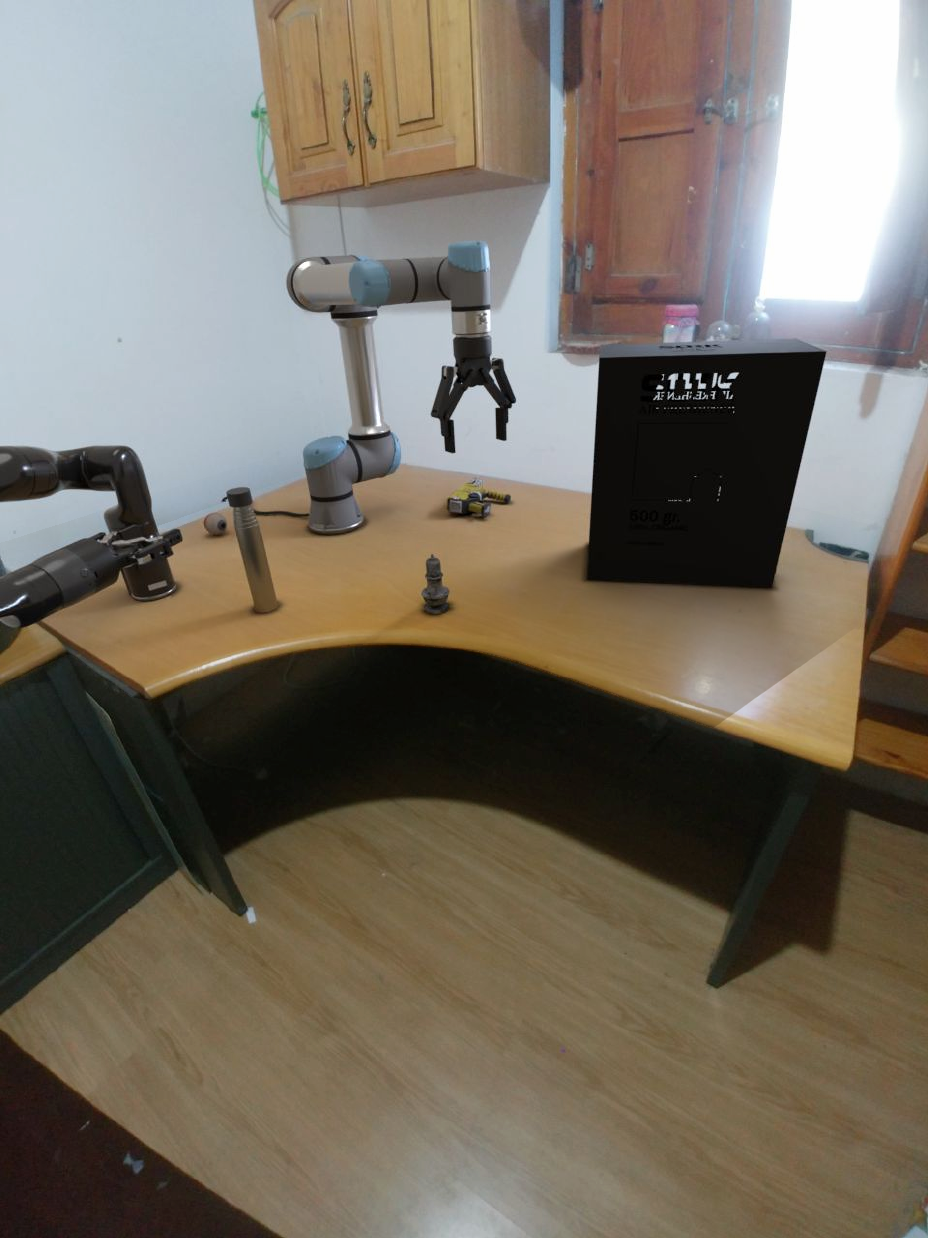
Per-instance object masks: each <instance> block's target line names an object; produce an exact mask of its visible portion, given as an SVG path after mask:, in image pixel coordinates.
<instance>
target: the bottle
mask: <svg viewBox="0 0 928 1238" xmlns="http://www.w3.org/2000/svg"><path fill="white" fill-rule="evenodd" d="M232 508H233V509H232V515H233V517H232V519H233V528H234V532H235V537H236V540H237V544H238V548H239V551H240V556H241V560H242V563H243V566H244V567H243V568H244V571H245V575H246V579H247V583H248V586H249V590H250V594H251V599H252V602H253V606H254V609H255V611H256V612H257V613H261V614H264V613H266V614H267V613H270V612H273V611H274V610H276V609H278V607H279V604H278V600H277V599H278V598H277V595H276V591H275V586H274V582H273V578H272V574H271V570H270V565H269V561H268V556H267V553H266V548H265V543H264V539H263V536H262V531H261V527H260V526H261V525H260V522H259V520H258V517H257V514H256V513H254V510H255V509H253V506H252V505H251V504H250V505H248V506H245V507H238V508H234V507H232Z"/></svg>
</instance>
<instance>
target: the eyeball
mask: <svg viewBox="0 0 928 1238" xmlns="http://www.w3.org/2000/svg"><path fill="white" fill-rule="evenodd" d="M203 526H204V529H205V530H206V531H207V532H208V533H209V534H211V535H215V536H217V535H221V534H223V533H225V532H226V530H227V528H228V522H227V518H226V517H225V516H224V515H223V514H222V513H219V512H211V513H208V514H207V515H206V516H205V517H204V519H203Z"/></svg>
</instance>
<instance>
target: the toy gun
mask: <svg viewBox="0 0 928 1238" xmlns="http://www.w3.org/2000/svg"><path fill="white" fill-rule="evenodd" d="M485 499H492V500H496V501H499V502H502V503H506V504H508V503H510V502H511V500H512V496H511V494H508V493H502V492H497V491H495V490H494V491H493V490H488V491H487V492H486V491H485V489H484V479H483V478H479V479H478V477H474V478H473V479H471V480H470V481H468V482H467V483H465V484H464V485H463V486H462V487H460V488H459V489H457V490H456V491H455V492H454V493H453V494H451V495H450V496H449V497H448V498H447V499H446V510H447V512H450V513H451V515H453V514H454V515H458V514H460V515H461V514H462V515H464V514H468V513H476V514H479V515H481V517H482V518H485V517H486V516H488V515H490V514H491V508H492V507H491V505H492V503H491V502H490V501H486V502H484V500H485Z"/></svg>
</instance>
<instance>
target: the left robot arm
mask: <svg viewBox="0 0 928 1238" xmlns="http://www.w3.org/2000/svg"><path fill="white" fill-rule="evenodd" d="M147 481H148V480H147V477H146V473H145V470H144V466H143V463H142V461H141V458H140V456H139V455H138V453H137V452H136V451H135V450H134V449H133V448H132V447H130V446H128V445H122V444H121V445H120V444H109V445H108V444H107V445H106V444H105V445H104V444H103V445H101V444H100V445H98V444H97V445H89V446H83V447H77V448H71V449H64V450H52V449H48V448H44V447H39V446H31V445H0V503H11V502H13V503H14V502H23V501H31V500H33V501H34V500H40V499H45V498H49V497H51V496H53V495H54V496H55V494H57V493H59V492H61V491H66V490H68V491H69V490H80V491H93V492H115V496H116V501H117V504H115V505H113V506H111V507H108V508H107V509H106V510H105V511H104V512H103V519H104V522H105V525H106V528H107V531H108V534H107V533H106V532H103V531H101V532H98V533H96V534H93V535H92V536H90V537H84V538H81V539H78V540H76V541H74V542H71V543H69V544H67V545H65V546H62V547H60V548H58V549H56V550H53V551H51V552H49V553H47V554H44V555H42V556H40V557H38V558H36V559H35V560H33V561H31V562H30V563H29V564H26V565H25V566H22V567H19V568H17V569H15V570H12V571H10V572H8V573H6V574H4V575H2V576H0V622H1V623H2V624H4V625H6V626H7V627H11V628H14V629H23V628H28V627H31V626H32V625H34V624H38V623H39V622H40V621H43V620H44V619H47V618H48V617H50V616H52V615H54V614H56V613H58V612H59V611H61V610H65V609H66V608H70V607H72V606H74V605H76V604H79V603H80V602H82V601H84V600H86V599H88V598H90V597H92V596H94V595H96V594H97V593H100V592H102V591H103V590H105V589H107V588H109V587H111V586H112V585H115V584H116V583H117V581H118V580H119V576H120V573H121V576H122V579H123V581H124V584H125V587H126V590H127V592H128V595H129V596H130V597H132V599H133V600H135V601H138V602H150V601H155V600H160V599H163V598H165V597H167V596H169V595H171V594H173V593H174V592H175V591H176V590H177V588H178V586H177V582H176V580H175V578H174V575H173V572H172V569H171V565H170V563H169V559H168V558H171V557H172V556H174V555H175V554H174V551H173V548H172V547H174V546H176V545H178V544H181V543H182V542H183V535H182V532H181V529H180V528H175V527H173V528H172V529H170V530H168V531H166V532H163V533H162V534H160V532H159V529H158V526H157V523H156V520H155V517H154V514H153V501H152V496H151V492H150V487H149V485H148V482H147Z"/></svg>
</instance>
